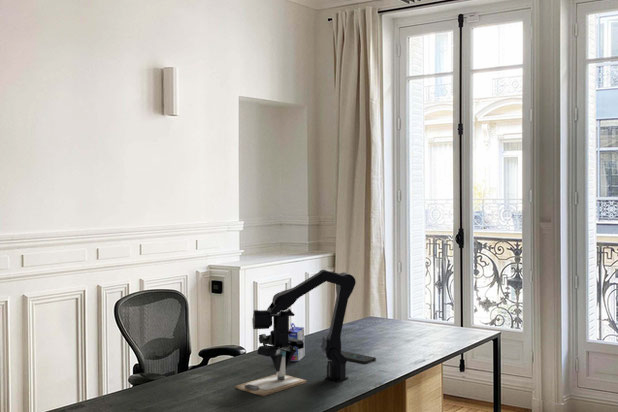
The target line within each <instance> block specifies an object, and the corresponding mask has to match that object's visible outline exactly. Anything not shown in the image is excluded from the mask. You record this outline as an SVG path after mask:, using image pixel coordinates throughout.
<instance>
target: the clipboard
mask: <svg viewBox="0 0 618 412" xmlns="http://www.w3.org/2000/svg"><path fill="white" fill-rule="evenodd" d="M306 383H307V379H303V378H299V377H295V376H291V375H287V374H285V379H284V380H278V379H277V373H276V374H272V375H268V376H265V377H261V378H258V379H255V380H252V381H247V382H244V383H240V384H237V385H235V389H238V390H241V391H245V392H248V393H251V394H255V395H258V396H261V397H265V396H267V395H271V394H272V395H273V394H275V393H277V392H281V391H284V390H287V389H291V388H293V387H297V386H301V385H304V384H306Z"/></svg>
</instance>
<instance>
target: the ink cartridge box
mask: <svg viewBox="0 0 618 412" xmlns="http://www.w3.org/2000/svg"><path fill="white" fill-rule="evenodd" d="M289 326H290V327H291V328H289V331H291V334H289V339H293V338H294V339H299V340H302V341H303V343H304V348H301V349H298V348H297V347H296V346H295V347H293V348H294V350H296V352H295V353H294V355H293V356H292V358H291V360H290V362H299V361H301V360H302V359H303V358H304V357H305V355H306V352H305V350H306V345H305V327H303V326H301V327H300V326H296V325H295V323H294V322H291V323H289Z"/></svg>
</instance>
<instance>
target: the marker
mask: <svg viewBox="0 0 618 412" xmlns="http://www.w3.org/2000/svg"><path fill="white" fill-rule="evenodd" d="M280 354H283V355H282V360H281V366H280V370H279V372H277V371H276V374H277V379H278V380H284V379H285V375H286V370H285V356H286V351H280Z"/></svg>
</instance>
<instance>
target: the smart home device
mask: <svg viewBox="0 0 618 412" xmlns="http://www.w3.org/2000/svg"><path fill="white" fill-rule="evenodd" d="M341 354H342V355H343V356H344V357H345V358H346V359H347V361H349V362H352V363H357V364H362V365H366V364H369V363H372V362H375V361H377V358H376V357H374V356H370V355H366V354H365V355H364V354H360V353H355V352H350V351H344V350H341Z"/></svg>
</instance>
